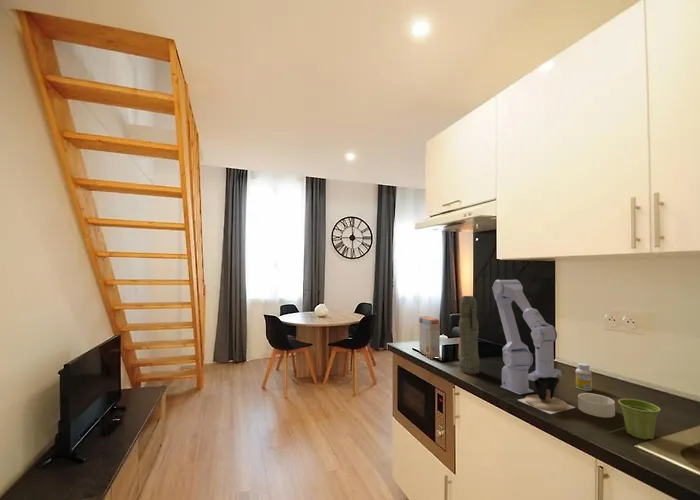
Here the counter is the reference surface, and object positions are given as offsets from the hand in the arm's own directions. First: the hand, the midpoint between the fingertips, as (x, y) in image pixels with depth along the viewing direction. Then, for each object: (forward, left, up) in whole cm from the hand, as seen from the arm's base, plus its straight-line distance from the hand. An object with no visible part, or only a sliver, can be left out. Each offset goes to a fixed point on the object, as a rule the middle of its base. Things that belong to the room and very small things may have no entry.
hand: (545, 398), depth 122 cm
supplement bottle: (-5, +29, -2) cm, 30 cm away
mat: (0, 0, -2) cm, 2 cm away
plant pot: (+26, +5, -2) cm, 27 cm away
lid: (0, 0, -2) cm, 2 cm away
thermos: (-41, +3, -2) cm, 41 cm away
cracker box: (-71, +3, -2) cm, 71 cm away
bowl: (+11, +10, -2) cm, 15 cm away
